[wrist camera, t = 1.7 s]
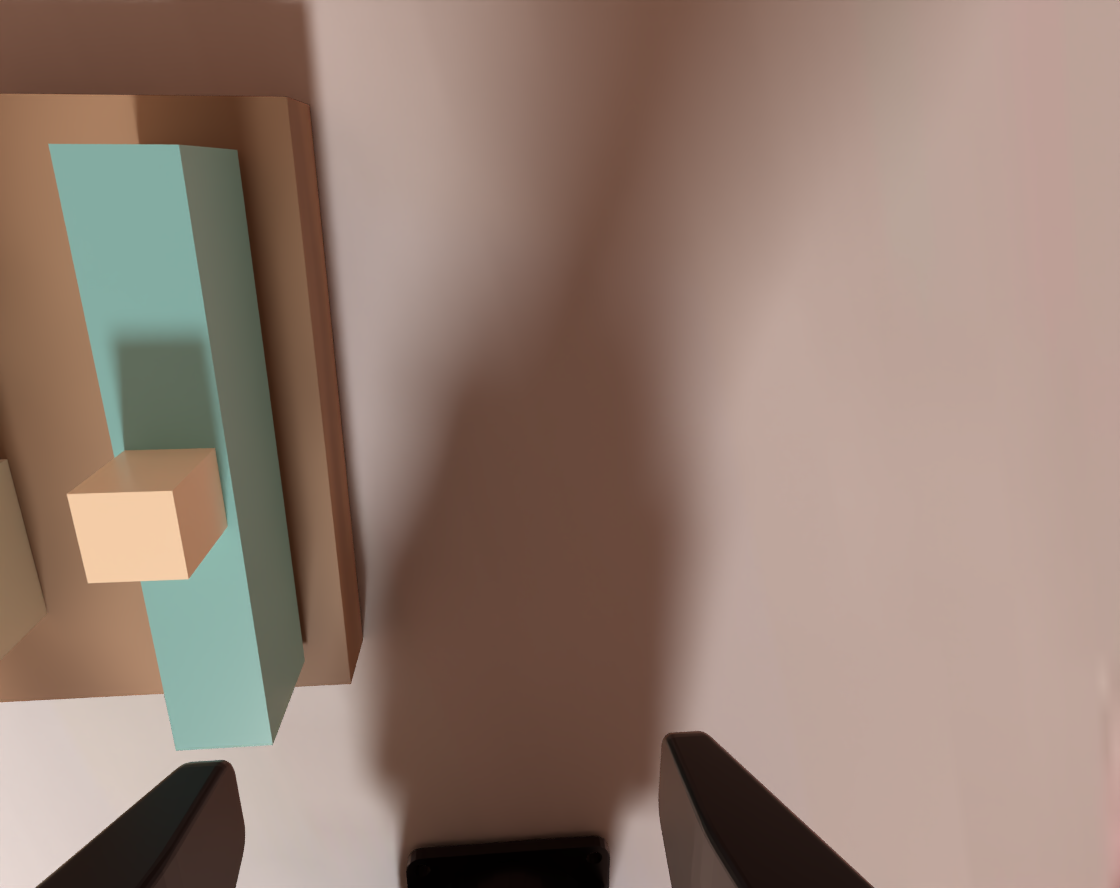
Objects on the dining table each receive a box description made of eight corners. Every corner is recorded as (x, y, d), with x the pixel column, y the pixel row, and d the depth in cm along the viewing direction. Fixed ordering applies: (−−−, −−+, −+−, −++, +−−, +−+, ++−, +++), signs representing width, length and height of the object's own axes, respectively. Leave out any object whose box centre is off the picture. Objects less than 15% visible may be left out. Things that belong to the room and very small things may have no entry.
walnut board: (309, 105, 17) (286, 96, 15) (363, 639, 22) (350, 683, 20) (-379, 98, 16) (-496, 88, 14) (-163, 664, 20) (-229, 714, 19)
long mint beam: (236, 149, 15) (122, 139, 10) (304, 660, 19) (244, 820, 14) (132, 149, 15) (-34, 138, 10) (222, 664, 19) (134, 827, 14)
